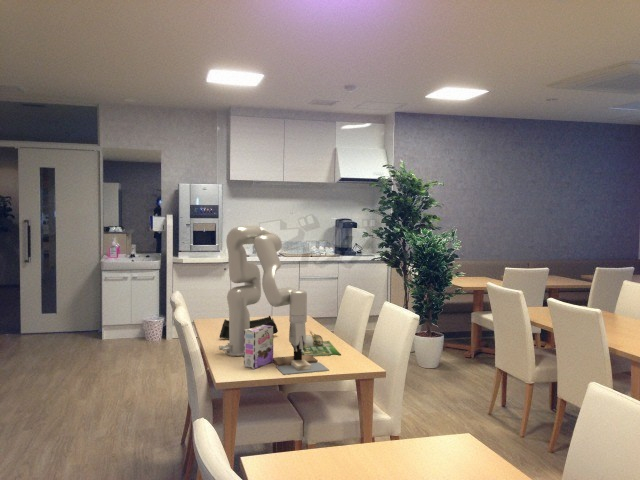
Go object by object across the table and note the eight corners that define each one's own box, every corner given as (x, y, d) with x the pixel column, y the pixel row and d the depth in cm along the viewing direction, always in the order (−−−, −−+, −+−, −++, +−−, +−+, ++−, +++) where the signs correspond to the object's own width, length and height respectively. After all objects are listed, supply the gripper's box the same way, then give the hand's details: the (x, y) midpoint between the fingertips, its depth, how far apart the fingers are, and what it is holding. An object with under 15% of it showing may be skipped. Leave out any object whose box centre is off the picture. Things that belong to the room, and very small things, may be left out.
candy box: (254, 369, 239) (254, 331, 238) (243, 367, 242) (243, 329, 241) (273, 362, 250) (274, 325, 249) (263, 360, 253) (263, 324, 252)
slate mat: (283, 374, 231) (283, 374, 231) (275, 367, 242) (275, 366, 242) (329, 370, 238) (329, 369, 238) (319, 363, 249) (319, 362, 249)
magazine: (215, 323, 290) (270, 304, 298) (214, 322, 293) (268, 303, 301) (225, 354, 292) (279, 334, 301) (224, 352, 295) (277, 333, 304)
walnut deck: (278, 367, 243) (278, 363, 243) (272, 361, 252) (272, 357, 252) (317, 363, 249) (317, 360, 249) (310, 357, 258) (310, 354, 258)
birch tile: (297, 370, 236) (297, 366, 236) (291, 365, 244) (291, 360, 244) (310, 369, 238) (311, 364, 238) (304, 364, 246) (304, 359, 246)
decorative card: (289, 327, 291) (327, 326, 295) (289, 341, 292) (327, 340, 295) (298, 341, 259) (341, 340, 263) (298, 358, 260) (341, 356, 263)
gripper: (284, 315, 251) (284, 356, 252) (295, 322, 237) (294, 365, 238) (300, 314, 254) (300, 355, 255) (311, 321, 240) (311, 363, 241)
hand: (297, 360), depth 246 cm, fingers closed
